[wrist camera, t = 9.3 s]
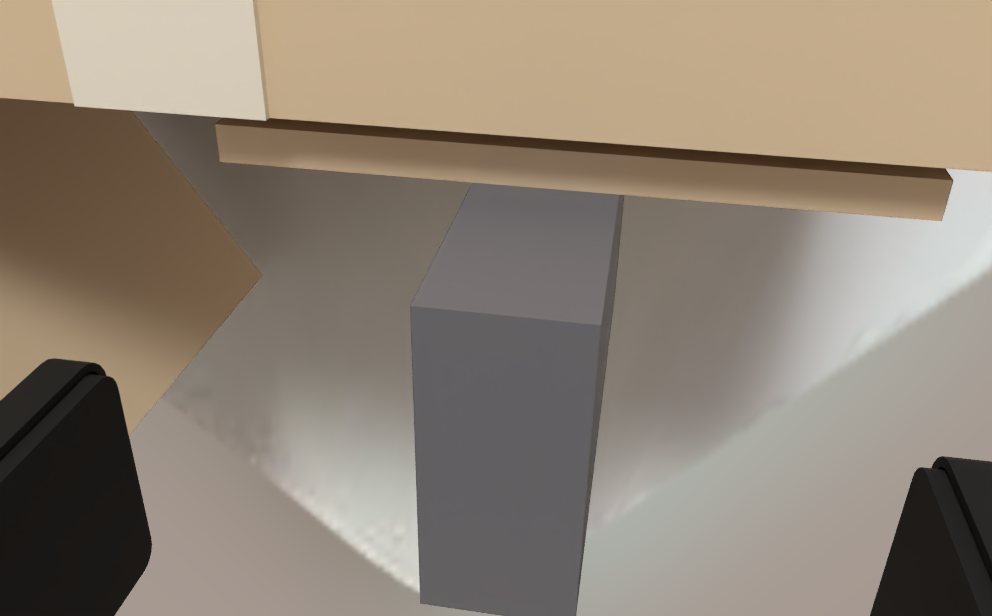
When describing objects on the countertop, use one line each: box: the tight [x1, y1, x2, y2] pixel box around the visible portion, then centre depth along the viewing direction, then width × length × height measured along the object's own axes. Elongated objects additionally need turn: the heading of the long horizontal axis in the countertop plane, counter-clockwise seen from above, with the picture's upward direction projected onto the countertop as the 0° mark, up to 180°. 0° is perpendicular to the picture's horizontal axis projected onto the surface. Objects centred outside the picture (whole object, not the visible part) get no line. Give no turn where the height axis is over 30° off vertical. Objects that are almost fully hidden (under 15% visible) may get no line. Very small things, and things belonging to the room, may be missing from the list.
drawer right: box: [215, 118, 953, 616], centre depth 15 cm, size 9×4×13 cm, turn 89°
